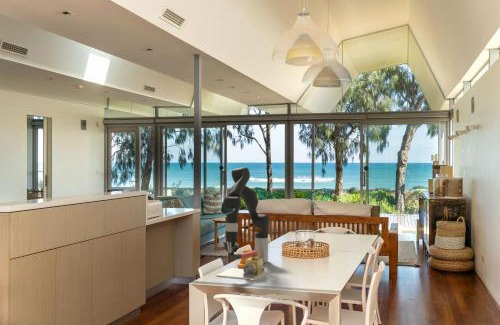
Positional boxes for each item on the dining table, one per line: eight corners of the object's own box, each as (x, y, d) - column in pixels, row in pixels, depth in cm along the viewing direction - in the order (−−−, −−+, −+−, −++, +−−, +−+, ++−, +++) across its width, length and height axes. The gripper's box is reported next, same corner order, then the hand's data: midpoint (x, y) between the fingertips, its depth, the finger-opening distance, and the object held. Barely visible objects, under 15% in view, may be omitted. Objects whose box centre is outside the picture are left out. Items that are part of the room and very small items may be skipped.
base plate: (231, 269, 327) (231, 268, 327) (268, 272, 317) (268, 271, 317) (216, 276, 307) (216, 275, 307) (256, 280, 297) (256, 278, 297)
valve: (254, 269, 322) (254, 252, 322) (266, 270, 319) (266, 253, 319) (241, 277, 302) (241, 258, 302) (253, 278, 299) (253, 259, 299)
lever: (253, 254, 314) (253, 249, 314) (259, 255, 311) (259, 250, 311) (228, 259, 297) (228, 254, 297) (234, 260, 294) (234, 255, 294)
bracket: (237, 268, 329) (237, 250, 329) (240, 266, 336) (240, 248, 336) (252, 269, 326) (252, 251, 326) (256, 267, 333) (256, 249, 332)
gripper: (219, 229, 303) (219, 258, 304) (234, 231, 294) (233, 261, 294) (229, 228, 309) (228, 256, 309) (243, 230, 299) (243, 260, 299)
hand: (231, 259), depth 301 cm, fingers closed
